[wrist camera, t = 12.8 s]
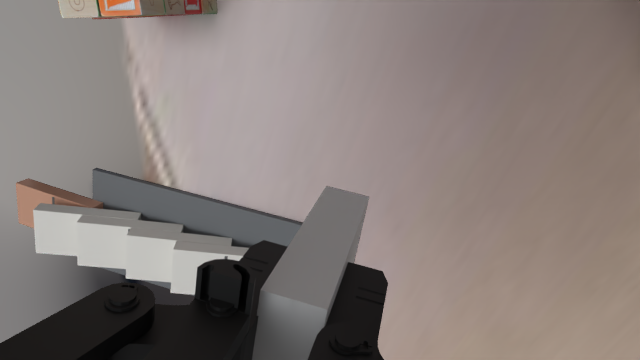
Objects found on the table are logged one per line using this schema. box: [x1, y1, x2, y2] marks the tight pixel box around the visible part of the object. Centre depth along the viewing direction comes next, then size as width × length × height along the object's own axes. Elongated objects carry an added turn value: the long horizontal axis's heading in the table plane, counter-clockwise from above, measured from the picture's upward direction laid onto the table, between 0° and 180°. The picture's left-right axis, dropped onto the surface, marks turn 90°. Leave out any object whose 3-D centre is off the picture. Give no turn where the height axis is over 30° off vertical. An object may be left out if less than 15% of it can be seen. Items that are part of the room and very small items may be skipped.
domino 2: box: [33, 203, 141, 256], centre depth 49 cm, size 2×5×10 cm
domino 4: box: [126, 227, 232, 282], centre depth 48 cm, size 2×5×10 cm
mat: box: [93, 168, 303, 296], centre depth 50 cm, size 24×12×1 cm, turn 80°
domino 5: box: [171, 241, 249, 295], centre depth 47 cm, size 2×5×10 cm
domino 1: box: [16, 179, 103, 228], centre depth 52 cm, size 2×5×10 cm
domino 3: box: [77, 215, 184, 269], centre depth 49 cm, size 2×5×10 cm
